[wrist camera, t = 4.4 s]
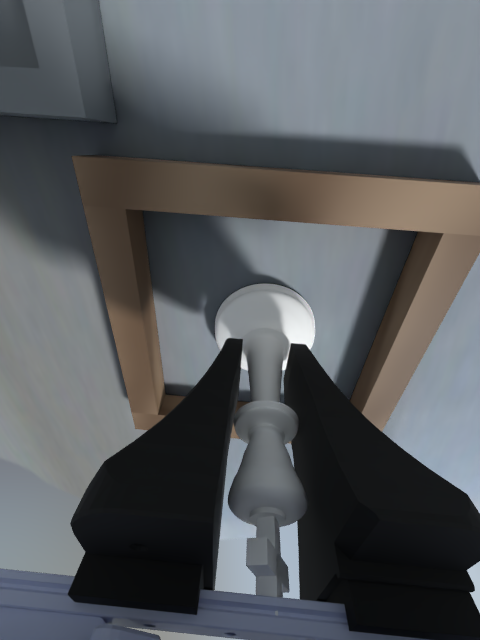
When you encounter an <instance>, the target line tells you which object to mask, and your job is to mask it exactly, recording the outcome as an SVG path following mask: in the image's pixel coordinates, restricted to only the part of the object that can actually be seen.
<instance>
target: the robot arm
mask: <svg viewBox="0 0 480 640" xmlns="http://www.w3.org/2000/svg"><path fill="white" fill-rule="evenodd" d="M242 345H243V339H236V338H228V339H226V341H225V343H224V345H223V347H222V349H221V351H220V353H219V354H218V356H217V358H216V359H215V361H214V362H213V364H212V365H211V366H210V368H209V369H208V371H207V372H206V373H205V375H204V376H203V377H202V378H201V380H200V381H199V382H198V383H197V385H196V386H195V387H194V388H193V389H192V390H191V392H190V393H189V394H188V395H187V396H186V397H185V398H184V399H183V400H182V401H181V402H180V403H179V404H178V405H177V406H176V407H175V408H174V409H173V410H172V411H171V412H169V413H168V414H167V415H166V416H165V417H164V418H163V419H162V420H160V421H159V422H158V423H157V424H155V425H154V426H153V427H152V428H150V429H149V430H148V431H147V432H145V433H144V434H143V435H142V436H140V437H139V438H138V439H136V440H135V441H134V442H132V443H131V444H129V445H128V446H126V447H125V448H123V449H122V450H120V451H119V452H118V453H116V454H115V455H113V456H112V457H110V458H109V459H107V460H106V461H105V462H104V463H103V464H102V466H101V467H100V469H99V470H98V472H97V473H96V475H95V477H94V478H93V480H92V481H91V483H90V484H89V486H88V488H87V490H86V491H85V493H84V495H83V497H82V499H81V501H80V503H79V505H78V507H77V509H76V511H75V513H74V516H73V518H72V520H71V527H72V530H73V533H74V535H75V536H76V538H77V539H78V541H79V542H80V544H81V546H82V547H83V549H84V550H85V555H84V557H83V559H82V562H81V564H80V566H79V568H78V571H77V573H76V575H75V576H67V575H57V574H47V573H38V572H28V571H19V570H8V569H0V640H161V639H160V637H159V636H158V635H155V634H151V633H147V632H143V631H139V630H135V629H130V628H127V627H132V628H142V629H150V630H160V631H169V632H178V633H188V634H197V635H207V636H216V637H225V638H235V639H244V640H480V613H479V611H478V609H477V607H476V605H475V603H474V601H473V598H472V597H471V594H470V592H473V591H475V588H474V584H473V582H472V580H471V578H470V576H469V574H468V572H467V569H469V568H470V567H472V566H473V565H475V564H476V563H477V562H479V561H480V514H479V512H478V510H477V509H476V507H475V506H474V504H473V502H472V501H471V499H470V498H469V497H468V495H467V494H466V493H464V492H463V491H461V490H460V489H458V488H457V487H455V486H454V485H452V484H451V483H449V482H448V481H446V480H445V479H443V478H442V477H440V476H439V475H438V474H436V473H435V472H433V471H432V470H430V469H429V468H427V467H426V466H424V465H423V464H422V463H420V462H419V461H418V460H416V459H415V458H414V457H412V456H411V455H410V454H408V453H407V452H406V451H404V450H403V449H402V448H401V447H399V446H398V445H397V444H396V443H394V442H393V441H392V440H391V439H390V438H388V437H387V436H386V435H385V434H384V433H383V432H381V431H380V430H379V429H378V428H377V427H376V426H375V425H373V424H372V423H371V422H370V421H369V420H368V419H367V418H366V417H365V416H364V415H363V414H362V413H361V412H360V411H359V410H358V409H357V408H356V407H355V406H354V405H353V404H352V403H351V402H350V401H349V400H348V399H347V398H346V397H345V395H344V394H343V393H342V392H341V391H340V390H339V388H338V387H337V386H336V385H335V384H334V382H333V381H332V380H331V379H330V377H329V376H328V375H327V373H326V372H325V371H324V369H323V368H322V367H321V365H320V364H319V363H318V361H317V360H316V358H315V357H314V355H313V354H312V352H311V351H310V350H309V348H308V347H307V345H306V344H295V343H291V345H290V350H289V355H288V360H287V365H286V370H285V375H284V399H285V405H287V406H289V407H290V408H291V409H292V410H293V411H294V412H295V413H296V414H297V416H298V419H299V426H298V431H297V434H296V436H295V437H294V438H293V439H292V440H291V444H292V450H293V458H294V469H295V472H296V474H297V476H298V478H299V479H300V481H301V484H302V486H303V489H304V491H305V494H306V497H307V501H308V507H307V510H306V512H305V514H304V515H303V516H302V517H301V518H300V519H299V520H298V546H299V581H300V599H290V598H280V597H271V596H261V595H251V594H241V593H232V592H222V591H214V590H215V579H216V569H217V558H218V548H219V537H220V527H221V517H222V506H223V496H224V486H225V476H226V466H227V456H228V449H229V443H230V438H231V433H232V427H233V419H234V415H235V411H236V406H237V401H238V394H239V382H240V370H241V358H242ZM277 610H278V616H277V615H275V611H277Z"/></svg>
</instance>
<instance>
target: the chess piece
mask: <svg viewBox="0 0 480 640" xmlns="http://www.w3.org/2000/svg"><path fill="white" fill-rule="evenodd" d="M215 338H216V342H217V345H218V347H219V349H220V351H221V349H222V347H223V345H224V343H225V341H226V339H228V338H236V339H243V345H242V358H241V368H242V369H245V370H248V374H249V382H250V392H251V402H250V403H248V404H246V405H244V406H242V407H241V408H240V409H239V410H238V411H237V412H236V413H235V415H234V419H233V424H234V427H235V432H236V434H237V435H238V437H239V438H240V439H241V440H243V441H244V442H246V443H247V444H248V446H247V448H246V450H245V452H244V455H243V459H242V462H241V465H240V468H239V470H238V472H237V474H236V476H235V478H234V480H233V483H232V486H231V488H230V491H229V495H228V505H229V508H230V509H231V511H232V512H233V513H234V515H235V516H237V517H238V518H239V519H241V520H242V521H244V522H246V523H249V524H252V525H255V526H257V532H256V538H247V554H246V555H247V556H246V566H247V567H248V568H249V569H250V570H251V571H252V573H254V575H255V576H256V595H261V596H271V597H280V598H283V593H282V592H289V578H288V567H287V565H286V564H285V562H284V561H283V559H282V558H281V553H280V532H279V527H281V526H286V525H290V524H292V523H294V522H296V521H298V520H299V519H300V518H301V517H302V516H303V515H304V514H305V512H306V510H307V507H308V501H307V497H306V494H305V491H304V489H303V486H302V484H301V481H300V479H299V478H298V476H297V474H296V472H295V470H294V467H293V465H292V462H291V459H290V456H289V453H288V451H287V449H286V447H285V444H287V443H289V442H290V441H291V440H292V439H293V438H294V437H295V436H296V434H297V431H298V426H299V419H298V416H297V414H296V413H295V412H294V411H293V410H292V409H291V408H290V407H289V406H287V405H285V404H283V403H280V390H281V377H282V370H285V369H286V365H287V360H288V355H289V350H290V345H291V343H295V344H306V345H307V347H308V348H309V350H310V349H311V347H312V345H313V342H314V338H315V320H314V315H313V312H312V310H311V308H310V306H309V305H308V303H307V302H306V301H305V300H304V299H303V298H302V297H301V296H300V295H299V294H298V293H296V292H295V291H293V290H291V289H289V288H286V287H284V286H280V285H276V284H254V285H250V286H247V287H244V288H241V289H239V290H237V291H236V292H234V293H233V294H231V295H230V296H229V297H228V298H227V299H226V300H225V301H224V302H223V303H222V305H221V306H220V308H219V310H218V312H217V315H216V319H215ZM275 615H277V616H278V610H277V611H275Z"/></svg>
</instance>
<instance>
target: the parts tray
mask: <svg viewBox="0 0 480 640" xmlns="http://www.w3.org/2000/svg"><path fill="white" fill-rule="evenodd" d="M0 115H3V116H18V117H32V118H46V119H61V120H75V121H90V122H104V123H117V119H116V112H115V105H114V99H113V92H112V85H111V79H110V72H109V65H108V58H107V52H106V45H105V38H104V32H103V25H102V18H101V12H100V5H99V0H0Z"/></svg>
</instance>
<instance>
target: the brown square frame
mask: <svg viewBox="0 0 480 640" xmlns="http://www.w3.org/2000/svg"><path fill="white" fill-rule="evenodd" d="M72 161H73V165H74V169H75V173H76V178H77V182H78V186H79V190H80V195H81V199H82V203H83V207H84V212H85V216H86V220H87V224H88V229H89V233H90V237H91V241H92V246H93V250H94V254H95V258H96V263H97V267H98V271H99V275H100V280H101V284H102V288H103V293H104V297H105V301H106V305H107V310H108V314H109V318H110V322H111V327H112V331H113V335H114V339H115V344H116V348H117V352H118V356H119V361H120V365H121V369H122V373H123V378H124V382H125V386H126V390H127V395H128V399H129V403H130V407H131V412H132V416H133V420H134V424H135V429H142V430H149V429H150V428H152V427H153V426H154V425H155V424H157V423H158V422H159V421H160V420H162V419H163V418H164V417H165V416H166V415H167V414H168V413H169V412H171V411H172V410H173V409H174V408H175V407H176V406H177V405H178V404H179V403H180V402H181V401H182V400H183V399H184V398H185V397H186V396H176V395H166V394H165V386H164V378H163V370H162V362H161V354H160V346H159V339H158V331H157V323H156V315H155V307H154V299H153V291H152V283H151V275H150V267H149V260H148V252H147V244H146V236H145V228H144V220H143V212H142V210H146V211H159V212H172V213H185V214H198V215H211V216H225V217H238V218H251V219H264V220H277V221H290V222H303V223H317V224H330V225H343V226H356V227H369V228H382V229H395V230H409V231H418V233H417V236H416V238H415V241H414V243H413V246H412V248H411V251H410V253H409V255H408V258H407V260H406V263H405V265H404V268H403V270H402V273H401V275H400V278H399V280H398V283H397V285H396V288H395V290H394V293H393V295H392V297H391V300H390V302H389V305H388V307H387V310H386V312H385V315H384V317H383V320H382V322H381V325H380V327H379V330H378V332H377V335H376V337H375V339H374V342H373V344H372V347H371V349H370V352H369V354H368V357H367V359H366V362H365V364H364V367H363V369H362V372H361V374H360V377H359V379H358V381H357V384H356V386H355V389H354V391H353V394H352V396H351V399H350V402H351V403H352V404H353V405H354V406H355V407H356V408H357V409H358V410H359V411H360V412H361V413H362V414H363V415H364V416H365V417H366V418H367V419H368V420H369V421H370V422H371V423H372V424H373V425H375V426H376V427H377V428H378V429H379V430H380V431H381V432H382V430H383V428H384V427H385V425H386V423H387V421H388V419H389V418H390V416H391V414H392V412H393V410H394V408H395V407H396V405H397V403H398V401H399V399H400V397H401V396H402V394H403V392H404V390H405V388H406V386H407V385H408V383H409V381H410V379H411V377H412V375H413V374H414V372H415V370H416V368H417V366H418V365H419V363H420V361H421V359H422V357H423V355H424V354H425V352H426V350H427V348H428V346H429V344H430V343H431V341H432V339H433V337H434V335H435V333H436V332H437V330H438V328H439V326H440V324H441V322H442V321H443V319H444V317H445V315H446V313H447V311H448V310H449V308H450V306H451V304H452V302H453V301H454V299H455V297H456V295H457V293H458V291H459V290H460V288H461V286H462V284H463V282H464V280H465V279H466V277H467V275H468V273H469V271H470V269H471V268H472V266H473V264H474V262H475V260H476V258H477V257H478V255H479V253H480V183H478V182H464V181H450V180H436V179H422V178H409V177H395V176H381V175H367V174H353V173H339V172H325V171H311V170H297V169H283V168H269V167H255V166H242V165H228V164H214V163H200V162H186V161H172V160H158V159H144V158H130V157H116V156H102V155H81V156H72ZM248 403H250V402H242V401H237V406H236V411H235V413H236V412H237V411H238V410H239V409H240V408H241V407H242V406H244V405H246V404H248ZM231 438H237V439H240V438H239V437H238V435H237V434H236V432H235V427H234V424H233V427H232V433H231ZM289 443H291V441H290V442H289Z"/></svg>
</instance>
